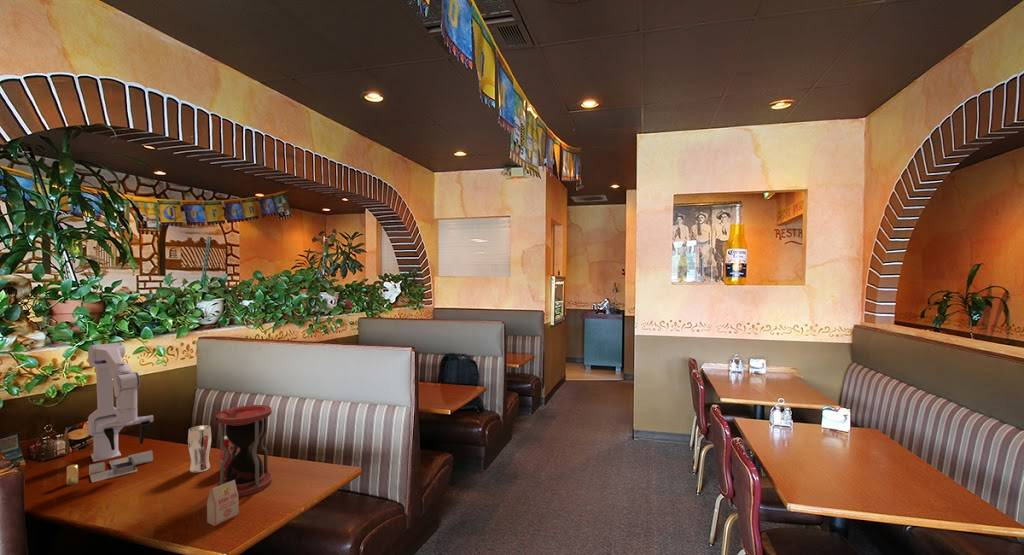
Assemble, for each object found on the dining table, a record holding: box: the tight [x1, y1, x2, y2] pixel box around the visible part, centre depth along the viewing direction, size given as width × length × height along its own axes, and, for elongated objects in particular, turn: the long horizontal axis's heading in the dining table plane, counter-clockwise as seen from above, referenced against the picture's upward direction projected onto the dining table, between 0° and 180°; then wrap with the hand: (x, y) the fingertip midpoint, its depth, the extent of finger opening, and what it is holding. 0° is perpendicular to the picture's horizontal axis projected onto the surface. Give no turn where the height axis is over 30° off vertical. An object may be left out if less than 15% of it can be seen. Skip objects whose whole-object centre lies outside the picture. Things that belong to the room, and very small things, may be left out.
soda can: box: [219, 434, 240, 473], centre depth 166 cm, size 7×7×12 cm
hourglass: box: [215, 404, 273, 497], centre depth 153 cm, size 16×16×25 cm
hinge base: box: [88, 461, 138, 483], centre depth 163 cm, size 9×12×4 cm
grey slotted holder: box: [108, 450, 154, 469], centre depth 172 cm, size 9×12×4 cm
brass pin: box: [66, 464, 79, 486], centre depth 155 cm, size 3×3×6 cm
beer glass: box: [187, 424, 212, 474], centre depth 166 cm, size 7×7×15 cm
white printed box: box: [206, 480, 240, 527], centre depth 133 cm, size 4×7×10 cm, turn 152°
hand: (127, 446), depth 162 cm, fingers open, 7 cm apart
